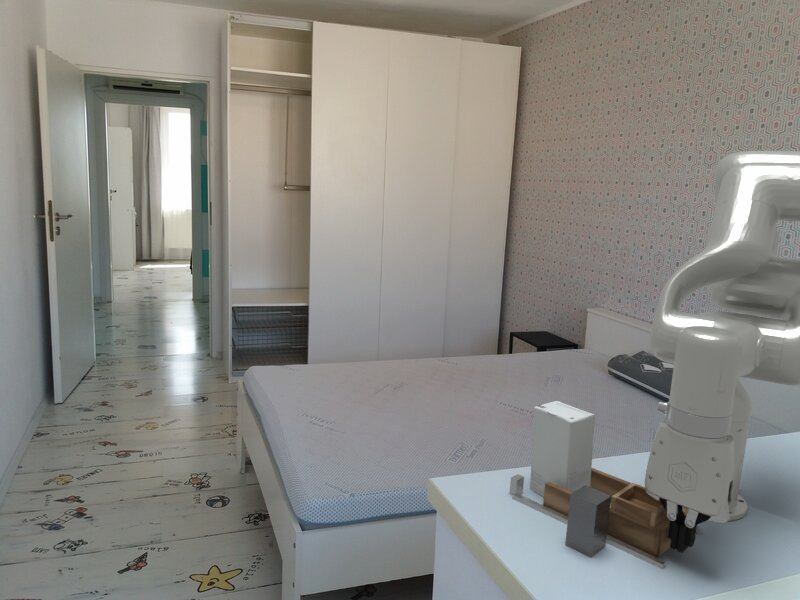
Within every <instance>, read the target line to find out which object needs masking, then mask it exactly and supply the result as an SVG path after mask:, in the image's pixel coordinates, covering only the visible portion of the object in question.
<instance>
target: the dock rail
mask: <svg viewBox="0 0 800 600" xmlns="http://www.w3.org/2000/svg"><path fill="white" fill-rule="evenodd" d="M524 483H525V476H524V475H521V474H519V473H517V474H516V475H513V476H511V477H510V483H509V495H512V499H513V500H514V501H517V502H519V503H521V504H523V505H526V506H527V507H530V508H532V509H534V510H536V511H538V512H540V513H542V514H544V515H547V516H549V517H551V518H553V519H555V520H557V521H559V522H561V523H563V524H565V525H567V523H568V516H566V515H563V514H561V513H559V512H557V511H555V510H553V509H550V508H548V507H546V506H544V505H543V503H540V502H537V501H535V500H533V499H531V498H528V497H526V496H524V495H521V494H523V493H524ZM703 529H704V528H702V527H700V526H698V525H697V528H696V535H702V533H703ZM606 544H608V545H610V546H613V547H615V549H616V548H617V549H619V550H620V551H624V552H625V553H628V554H630V555H631V556H634V557H636V558H638V559H640V560H642V561H645V562H646V563H648V564H651V565H653V566H655V567H657V568H659V569H661V570H663V569H664V568H665V567H666V565H667V561H665V560H663V559H661V558H660V557H659V558H657V557H655V556H652V555H650V554H648V553H646V552H644V551H642V550H639V549H637V548H635V547H633V546H631V545H629V544H626V543H624V542H622V541H620V540H618V539H615V538H613V537H611V536H609V535H607V538H606Z"/></svg>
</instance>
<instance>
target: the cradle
mask: <svg viewBox="0 0 800 600" xmlns="http://www.w3.org/2000/svg"><path fill="white" fill-rule="evenodd" d="M590 487H591V488H593V489H596V490H598V491H601V492H603V493H606V494H608V495H610V496H611V504H610V512H609V521H608V529H607V535H609V536H611V537H613V538H615V539H618V540H620V541H622V542H624V543H626V544H629V545H631V546H633V547H635V548H637V549H639V550H642V551H644V552H646V553H648V554H650V555H652V556H655V557H657V558H659V559H660V557H661V556H662V555H664V553H665V552H666V551H668V550H669V549H671V548H670V543H671V539H670V538H668V533H669V526H670V519H669V518H668V517H667V512H666V510H665V509H664V507H663V506H662V504H661V503H660V501H659V500H656V499H655V498H653V497H652V496H650V495H649V494H647V493H646V487H645V486H642V485H639V484H637V483H635V482H630V481H627V480H624V479H622V478H619V477H617V476H616V475H615V476H614V475H611V474H609V473H607V472H604V471H601V470H598V469H596V468H594V467H591V483H590ZM571 493H573V492H572V491H569V490H567V489H565V488H562V487H560V486H558V485H555V484H553V483H551V482H547V483H545V490H544V497H543V501H542V502H543V503H542V505H544V506H546V507H548V508H550V509H553V510H555V511H557V512H559V513H561V514H563V515H566V516H568V514H569V504H570V495H571ZM688 511H689V509H688V508H686V507H684V515H686V517H687V514H688Z"/></svg>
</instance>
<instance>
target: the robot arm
mask: <svg viewBox="0 0 800 600" xmlns="http://www.w3.org/2000/svg"><path fill="white" fill-rule="evenodd" d="M714 197H715V199H714V200H715V207H714V211H713V215H712V220H711V225H710V228H709V232H708V236H707V241H706V245H705V247H704V249H703V250H702V251H701V252H699V253H697V254H696V255H694V256H693V257H691V258H690V259H688V260H687V261H686V262H684V263H683V264H682V265H681V266H680V267H678V269H677V270H676V271H674V273H673V274H672V275H671V276H670V277H669V278H668V280H667V281H666V283H665V285H664V286H663V288H662V290H661V293H660V295H659V299H658V303H657V305H656V310H655V314H654V316H653V320H652V321H653V322H652V324H651V329H650V335H649V346H650V351H651V353H652V355H653V356H654V357H655V358H657V359H658V360H659V361H661V362H664V363H668V364H672V365H673V367H672V368H673V369H672V370H673V371H672V375H671V376H672V377H671V385H670V390H669V391H670V393H669V399H668V401H665V402H663V401H659V402H658V404H657V411H658V412H661V413H662V414H664V416H665V418H664V420H662V421H661V422H659V424H658V426H657V429H656V431H655V434H654V437H653V441H652V445H651V449H650V453H649V456H648V461H647V466H646V470H645V477H644V487H645V488H646V493H647V494H649V495H650V496H652V497H653V498H655V499H656V500H659V501H660V503H661V504H662V506H663V507H664V509H665V510H666V512H667V517H668V518H669V519H670V526H669V533H668V538H670V539H671V543H670V548H669V549H671V550H676V551H677V552H678V553H681V554H684V552H685V551H686V550H687V549H688V548H692V547H693V546H694V544H695V541H696V535H697V534H696V528H697V526H698V525H700V524H703V523H704V522H707V521H711V522H715V523H720V524H725V523H727V522H732V521H737V520H739V519H742V518H743V517H745V516H746V515H747V512H748V502H747V500H745V498H744V497H743V496H741V494H739V491H740V484H741V477H742V471H743V466H744V459H745V452H746V447H747V446H746V445H747V442H748V434H749V428H750V422H751V417H752V416H751V415H752V401H751V398H750V396H749V394H748V392H747V390H746V388H745V386H743V384H742V382H741V381H740V379H739V378H744V379H746V378H747V379H751V380H758V381H762V382H768V383H771V384H772V383H773V384H778V385H779V384H780V385H785V386H795V387H796V386H800V259H796V258H788V257H787V258H784V257H777V254H778V249H779V245H780V240H781V239H780V238H781V237H780V234H779V231H778V229H777V223H778V221H784V222H785V221H786V222H798V223H799V222H800V150H797V151H796V150H744V151H743V150H742V151H737V152H733V153H730V154H728V155H725V156H724V157H722V158H721V159H720V160H719V162H718V164H717V166H716V169H715V175H714ZM707 286H709V294H710V295H709V296H710V300H711V302H712V304H714V306H716V307H718V308H719V309H721V310H722V311H719V310H718V311H717V310H716V311H715V310H714V311H713V310H712V311H705V312H702V313H700V314H698V313H691V312H685V311H684V312H683V311H680V308H681V307H682V306H681V305H683V303H684V301H685V300H686V299H687V298H688V297H689V296H690V295H691V294H693V293H694V292H696V291H698V290H700V289H702V288H704V287H707ZM723 310H724V311H723ZM684 507H686V508H688V509H689V511H688V514H687V517H686V515H684Z"/></svg>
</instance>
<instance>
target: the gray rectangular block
mask: <svg viewBox="0 0 800 600" xmlns="http://www.w3.org/2000/svg"><path fill="white" fill-rule="evenodd" d="M610 508H611V496H610V495H608V494H606V493H603V492H601V491H598V490H596V489H593V488H591V487H589V486H586V485H585V486H583V487H582V488H580V489H578V490H576V491H575V492H573V493H571V495H570V504H569V514H568V523H567V524H566V536H565V546H567V547H568V548H571V549H572V550H575V551H577V552H579V553H580V554H582V555H584V556H586V557H588V558H593V557H594V556H595V555H597V554H598V553H600V552H601V551H602V550H604V549H605V548H606V545H607V543H606V538H607V529H608V521H609V512H610Z"/></svg>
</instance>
